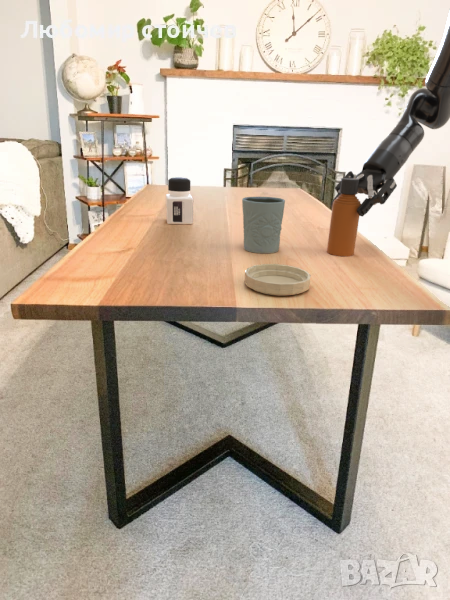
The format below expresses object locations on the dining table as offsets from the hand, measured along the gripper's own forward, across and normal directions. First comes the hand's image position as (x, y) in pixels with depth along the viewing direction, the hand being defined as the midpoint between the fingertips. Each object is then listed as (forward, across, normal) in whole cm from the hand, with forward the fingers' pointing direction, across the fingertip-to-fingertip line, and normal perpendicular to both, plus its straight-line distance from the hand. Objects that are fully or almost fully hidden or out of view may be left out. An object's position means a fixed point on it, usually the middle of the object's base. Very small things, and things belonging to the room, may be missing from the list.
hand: (345, 210), depth 104 cm
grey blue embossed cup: (+19, -11, -4) cm, 22 cm away
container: (+22, -47, -7) cm, 53 cm away
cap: (-3, 0, -3) cm, 4 cm away
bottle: (+7, 0, +7) cm, 10 cm away
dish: (+28, +13, -13) cm, 33 cm away
